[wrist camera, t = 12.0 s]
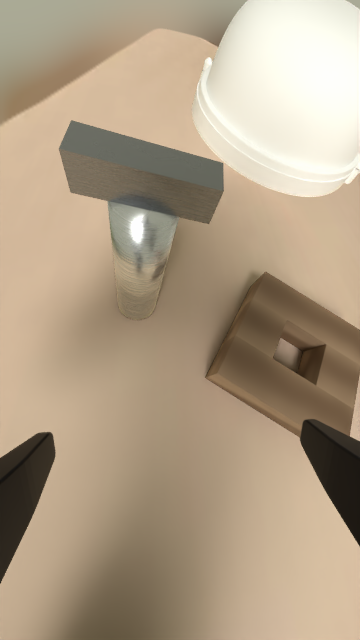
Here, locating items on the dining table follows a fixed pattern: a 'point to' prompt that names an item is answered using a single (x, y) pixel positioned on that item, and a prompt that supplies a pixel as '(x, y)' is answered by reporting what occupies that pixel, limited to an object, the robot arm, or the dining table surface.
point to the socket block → (276, 379)
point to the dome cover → (286, 95)
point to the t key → (140, 202)
